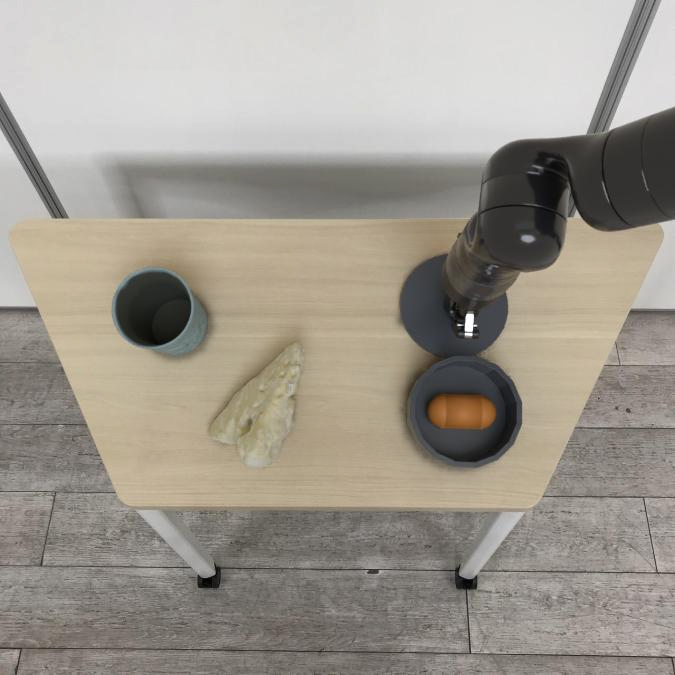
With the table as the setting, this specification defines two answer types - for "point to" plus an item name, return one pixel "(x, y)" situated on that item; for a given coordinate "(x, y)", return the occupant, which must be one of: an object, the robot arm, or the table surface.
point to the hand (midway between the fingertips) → (455, 302)
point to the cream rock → (262, 410)
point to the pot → (465, 380)
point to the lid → (444, 314)
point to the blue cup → (159, 312)
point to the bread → (461, 411)
